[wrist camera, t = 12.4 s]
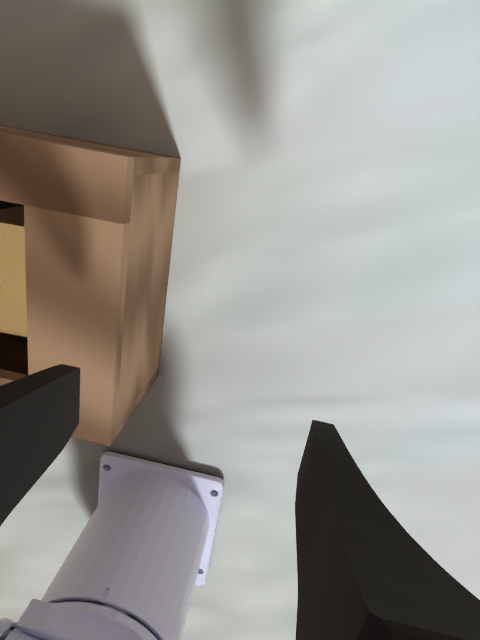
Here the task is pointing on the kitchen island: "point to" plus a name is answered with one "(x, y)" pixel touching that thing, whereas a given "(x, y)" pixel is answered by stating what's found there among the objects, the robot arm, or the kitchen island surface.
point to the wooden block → (12, 272)
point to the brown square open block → (91, 268)
